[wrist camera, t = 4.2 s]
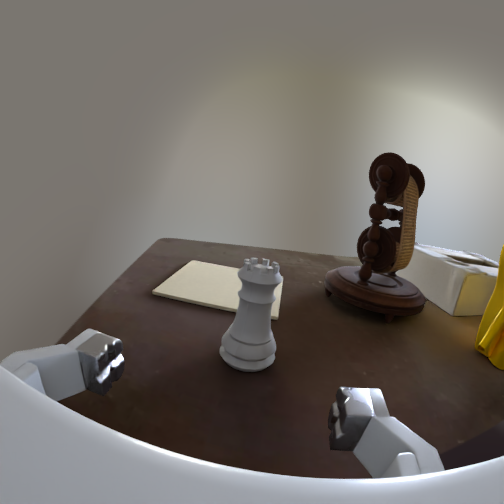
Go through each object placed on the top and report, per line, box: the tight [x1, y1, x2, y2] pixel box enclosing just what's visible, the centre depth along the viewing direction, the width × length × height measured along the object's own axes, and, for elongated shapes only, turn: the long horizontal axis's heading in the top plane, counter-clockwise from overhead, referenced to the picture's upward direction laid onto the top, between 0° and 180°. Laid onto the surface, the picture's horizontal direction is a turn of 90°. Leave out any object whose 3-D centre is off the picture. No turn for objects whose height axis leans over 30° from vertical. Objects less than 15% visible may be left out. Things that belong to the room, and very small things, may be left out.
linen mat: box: [152, 260, 283, 320], centre depth 38 cm, size 14×14×1 cm
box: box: [396, 243, 499, 316], centre depth 48 cm, size 23×8×32 cm
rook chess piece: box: [220, 258, 283, 372], centre depth 22 cm, size 4×4×8 cm
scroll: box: [324, 153, 426, 324], centre depth 36 cm, size 15×15×20 cm
